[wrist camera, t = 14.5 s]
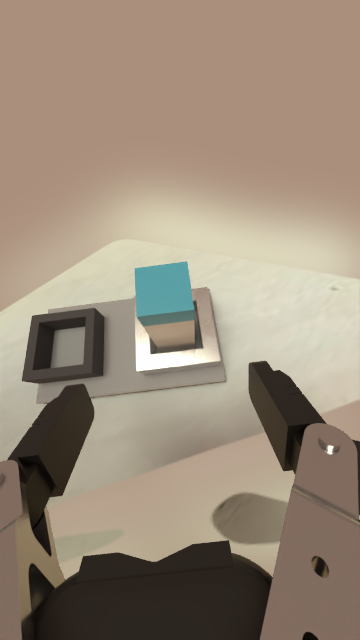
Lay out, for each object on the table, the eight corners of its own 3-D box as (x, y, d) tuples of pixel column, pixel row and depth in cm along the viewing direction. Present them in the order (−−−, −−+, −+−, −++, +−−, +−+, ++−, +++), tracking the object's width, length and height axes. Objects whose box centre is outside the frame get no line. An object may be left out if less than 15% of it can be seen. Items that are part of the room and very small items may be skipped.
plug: (161, 354, 26) (136, 316, 15) (159, 323, 27) (134, 268, 16) (194, 350, 26) (194, 309, 15) (190, 319, 27) (187, 261, 16)
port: (144, 375, 25) (136, 371, 22) (141, 309, 28) (134, 296, 25) (217, 366, 25) (220, 360, 22) (205, 300, 28) (207, 287, 25)
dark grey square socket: (40, 383, 26) (21, 381, 23) (48, 324, 29) (32, 315, 26) (103, 375, 26) (91, 372, 23) (104, 317, 28) (94, 307, 26)
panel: (42, 403, 26) (36, 403, 25) (53, 312, 30) (48, 309, 29) (224, 381, 25) (225, 380, 24) (208, 292, 30) (209, 288, 29)
